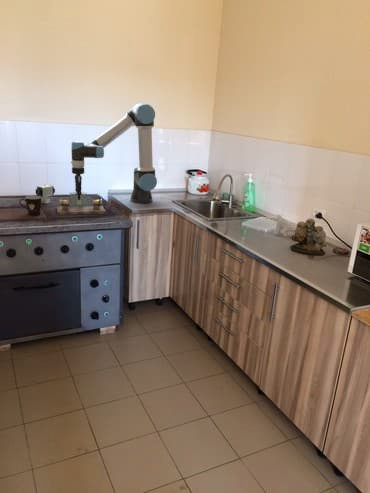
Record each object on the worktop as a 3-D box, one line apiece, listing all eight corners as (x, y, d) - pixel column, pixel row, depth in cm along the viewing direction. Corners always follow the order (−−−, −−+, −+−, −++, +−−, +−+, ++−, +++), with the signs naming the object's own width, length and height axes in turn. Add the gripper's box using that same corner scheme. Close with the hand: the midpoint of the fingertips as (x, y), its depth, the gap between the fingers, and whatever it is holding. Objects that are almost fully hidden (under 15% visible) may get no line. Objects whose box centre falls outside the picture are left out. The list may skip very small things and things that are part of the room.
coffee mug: (45, 214, 246) (44, 197, 242) (34, 217, 238) (33, 199, 235) (30, 210, 250) (29, 194, 247) (18, 213, 242) (17, 196, 239)
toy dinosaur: (263, 228, 244) (268, 210, 240) (305, 240, 236) (310, 221, 232) (260, 231, 238) (265, 212, 235) (302, 243, 230) (308, 224, 226)
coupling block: (86, 204, 274) (86, 192, 272) (87, 206, 270) (87, 194, 267) (69, 204, 270) (69, 192, 268) (70, 206, 266) (69, 194, 263)
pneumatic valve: (55, 202, 274) (55, 184, 270) (40, 205, 265) (39, 186, 261) (50, 200, 277) (49, 182, 273) (34, 203, 267) (34, 184, 264)
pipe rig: (101, 207, 262) (101, 198, 260) (102, 209, 258) (102, 199, 256) (59, 208, 254) (59, 198, 252) (60, 210, 250) (59, 200, 248)
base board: (102, 208, 267) (102, 206, 267) (105, 213, 256) (105, 211, 255) (56, 209, 258) (56, 206, 257) (57, 214, 246) (57, 212, 246)
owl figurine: (288, 253, 209) (293, 219, 204) (287, 246, 220) (292, 214, 215) (326, 257, 206) (332, 223, 200) (323, 250, 217) (329, 218, 212)
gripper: (70, 164, 269) (71, 200, 276) (73, 169, 253) (73, 207, 260) (82, 164, 271) (83, 200, 279) (85, 169, 255) (86, 206, 263)
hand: (78, 203), depth 270 cm, fingers closed on coupling block, 5 cm apart
